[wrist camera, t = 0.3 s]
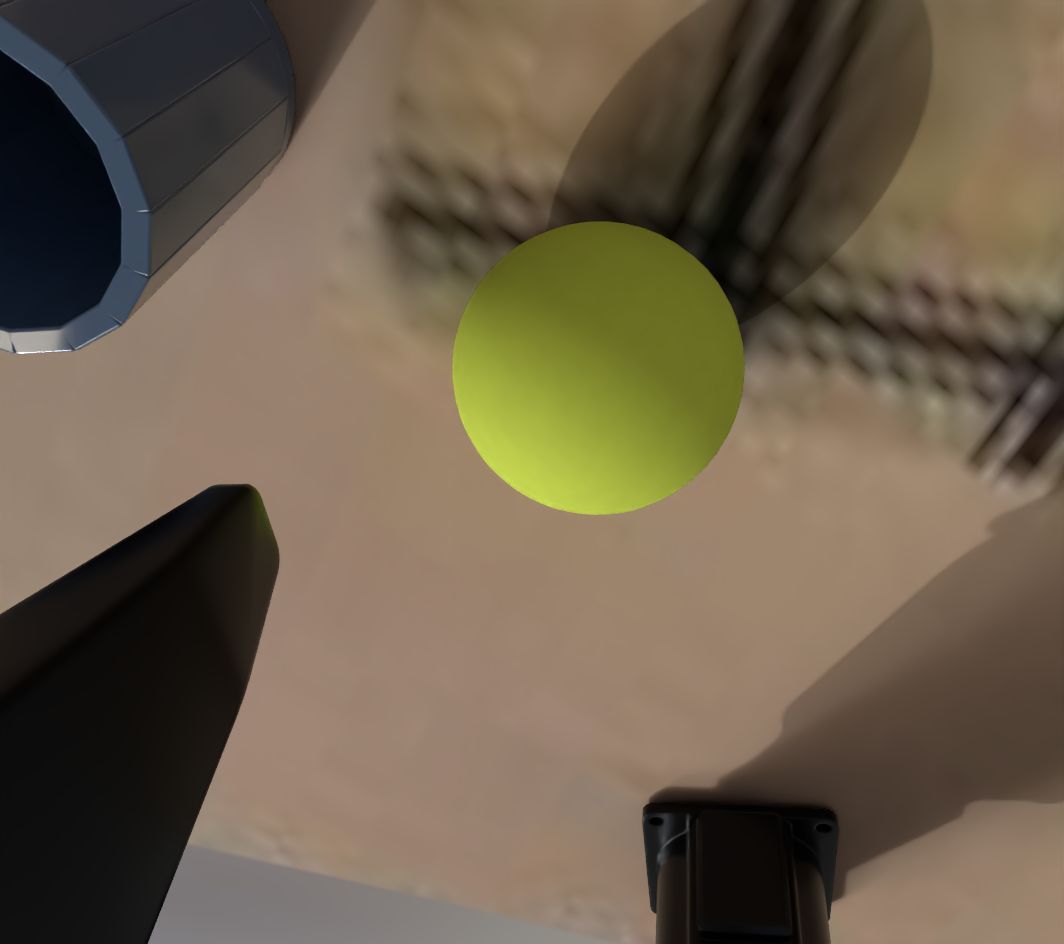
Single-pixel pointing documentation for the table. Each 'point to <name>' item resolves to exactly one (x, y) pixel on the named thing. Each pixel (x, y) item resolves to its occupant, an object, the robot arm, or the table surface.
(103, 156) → the tumbler
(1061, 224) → the table surface
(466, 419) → the ball
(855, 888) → the table surface
